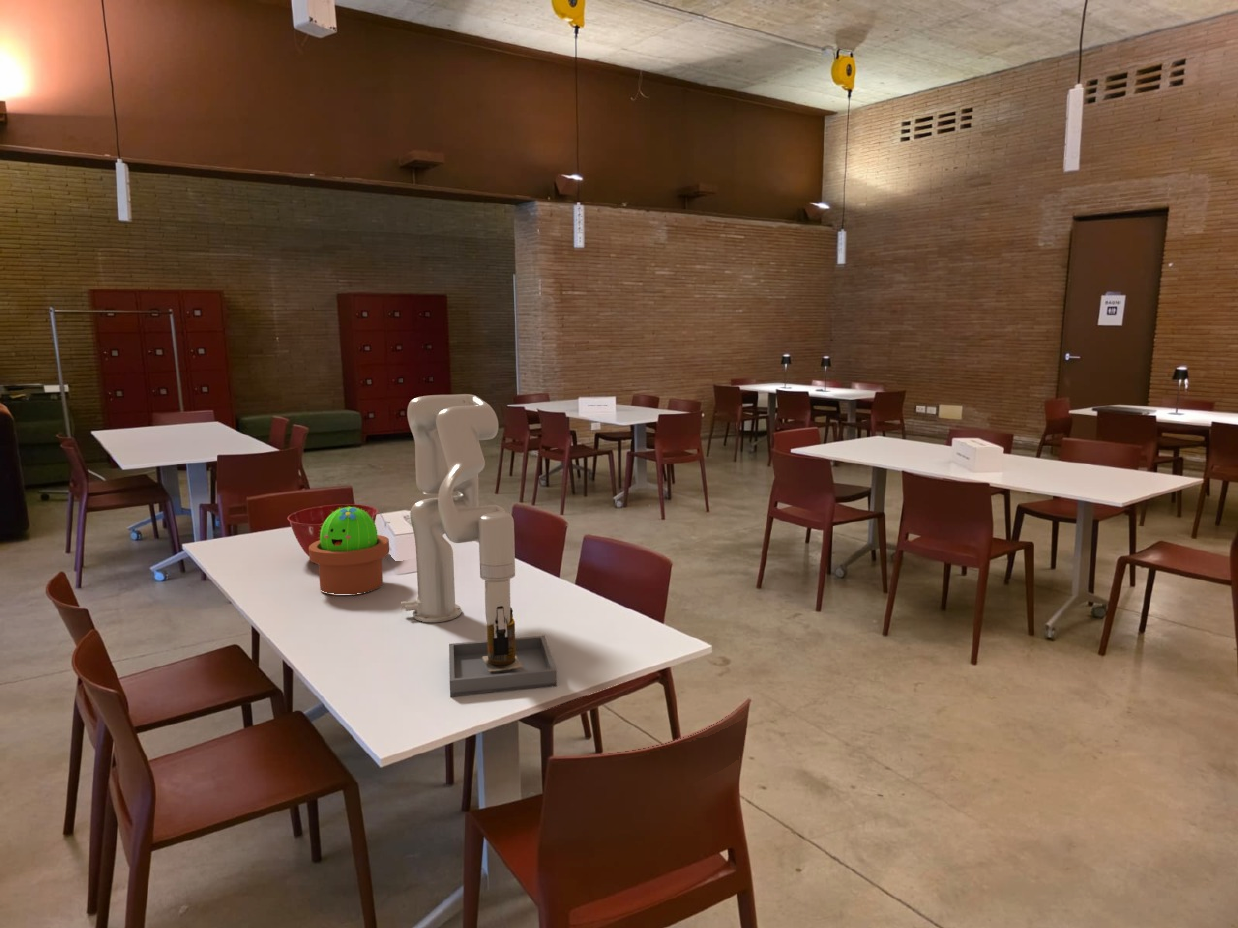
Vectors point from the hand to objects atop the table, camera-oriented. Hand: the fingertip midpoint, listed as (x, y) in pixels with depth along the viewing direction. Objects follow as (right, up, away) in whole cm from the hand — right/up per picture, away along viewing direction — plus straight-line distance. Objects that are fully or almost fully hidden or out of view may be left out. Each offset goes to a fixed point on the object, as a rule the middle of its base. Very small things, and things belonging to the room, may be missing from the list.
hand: (500, 647), depth 169 cm
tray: (0, -5, +1) cm, 5 cm away
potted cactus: (-53, +3, +60) cm, 80 cm away
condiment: (0, -3, 0) cm, 3 cm away
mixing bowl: (-70, +8, +92) cm, 116 cm away
